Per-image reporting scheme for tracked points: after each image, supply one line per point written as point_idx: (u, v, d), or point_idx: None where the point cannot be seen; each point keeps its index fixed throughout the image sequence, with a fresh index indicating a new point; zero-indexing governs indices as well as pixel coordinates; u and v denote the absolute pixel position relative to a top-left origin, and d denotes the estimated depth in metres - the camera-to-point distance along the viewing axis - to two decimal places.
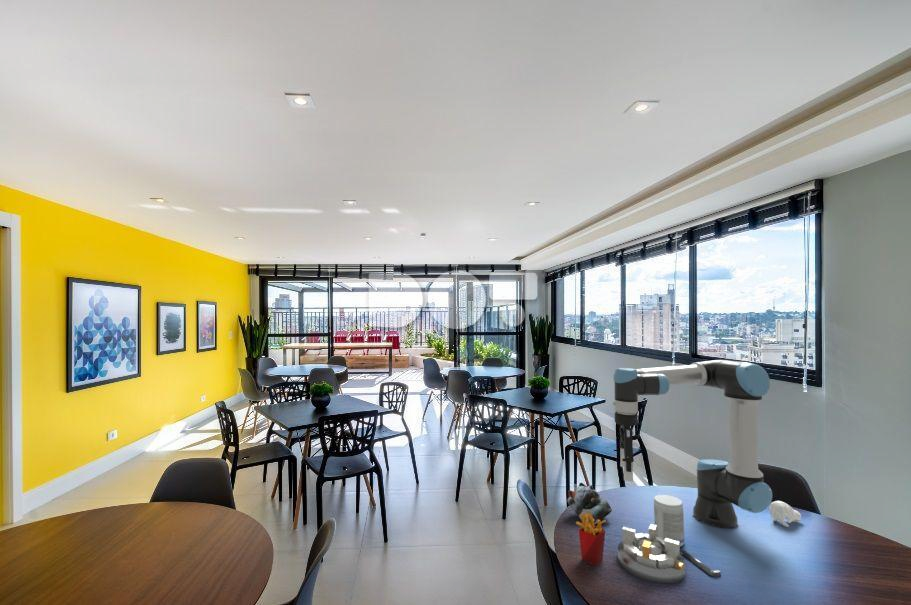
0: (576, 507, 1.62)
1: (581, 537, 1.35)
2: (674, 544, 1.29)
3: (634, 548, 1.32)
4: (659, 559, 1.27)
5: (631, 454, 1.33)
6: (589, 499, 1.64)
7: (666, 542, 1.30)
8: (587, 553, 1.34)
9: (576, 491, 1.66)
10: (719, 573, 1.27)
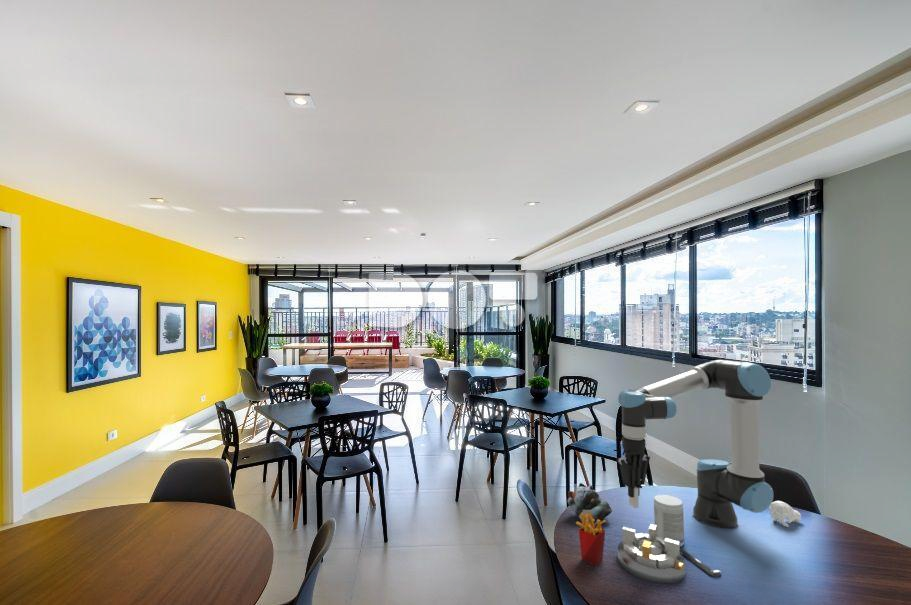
0: (576, 507, 1.62)
1: (581, 537, 1.35)
2: (674, 544, 1.29)
3: (634, 548, 1.32)
4: (659, 559, 1.27)
5: (626, 481, 1.39)
6: (589, 499, 1.63)
7: (666, 542, 1.30)
8: (587, 553, 1.34)
9: (576, 492, 1.65)
10: (719, 573, 1.27)
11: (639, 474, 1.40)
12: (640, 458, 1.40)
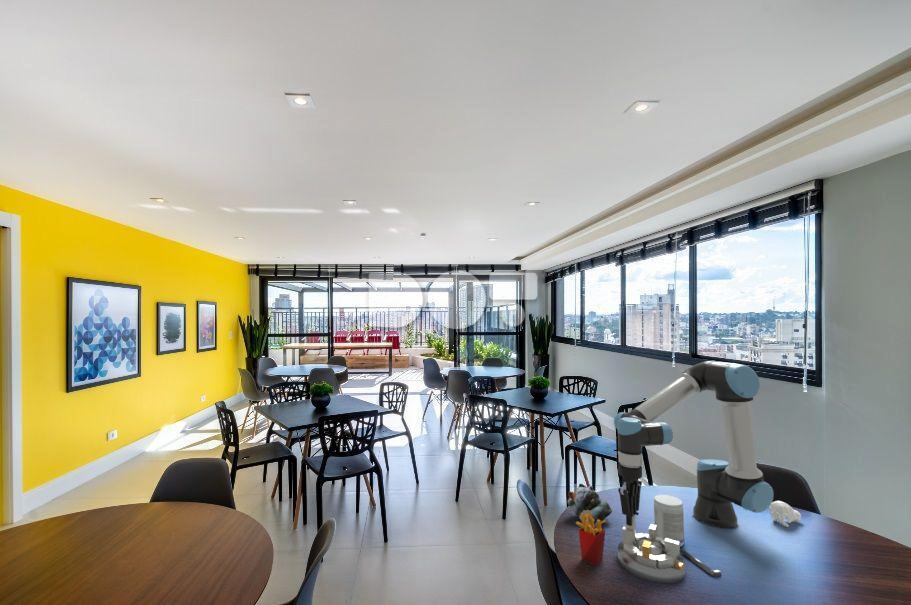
0: (576, 508, 1.61)
1: (581, 537, 1.35)
2: (674, 544, 1.29)
3: (634, 548, 1.32)
4: (659, 559, 1.27)
5: (627, 510, 1.36)
6: (590, 500, 1.63)
7: (666, 542, 1.30)
8: (587, 553, 1.34)
9: (576, 492, 1.65)
10: (720, 573, 1.27)
11: (635, 501, 1.39)
12: (637, 485, 1.39)
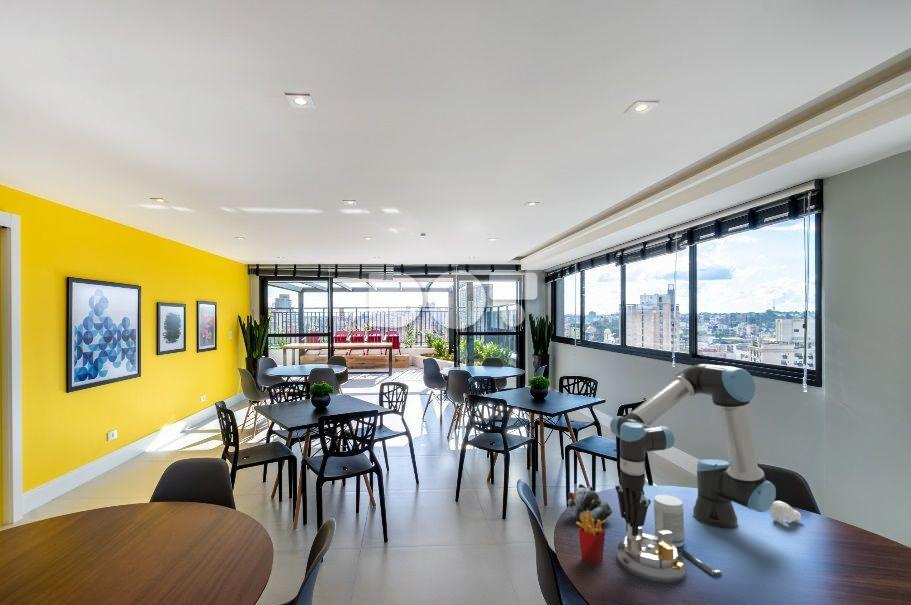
0: (577, 509, 1.61)
1: (581, 537, 1.35)
2: (669, 534, 1.35)
3: (650, 555, 1.28)
4: (674, 554, 1.29)
5: (643, 520, 1.30)
6: (590, 501, 1.62)
7: (664, 535, 1.35)
8: (587, 553, 1.34)
9: (576, 493, 1.64)
10: (720, 573, 1.28)
11: None
12: None
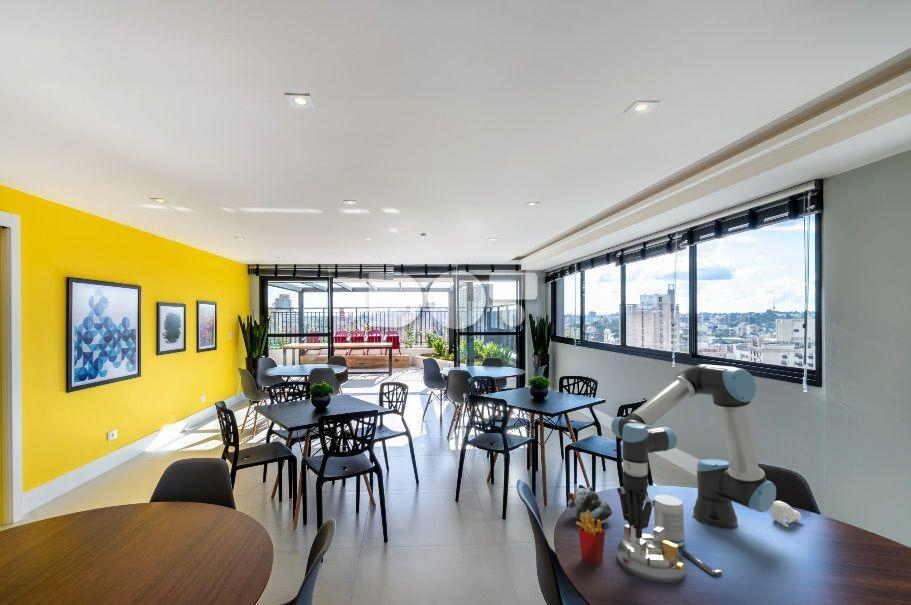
0: (577, 510, 1.60)
1: (581, 537, 1.35)
2: (663, 530, 1.38)
3: (658, 556, 1.28)
4: None
5: (647, 522, 1.28)
6: (590, 501, 1.61)
7: (659, 532, 1.36)
8: (587, 553, 1.34)
9: (576, 493, 1.64)
10: (720, 572, 1.28)
11: None
12: None
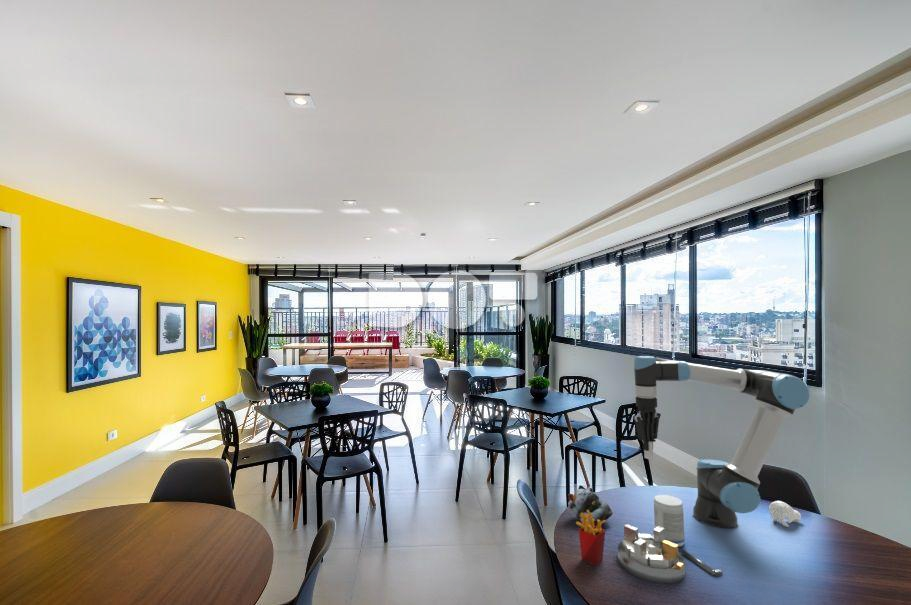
0: (577, 511, 1.59)
1: (581, 537, 1.35)
2: (663, 530, 1.38)
3: (658, 556, 1.28)
4: None
5: (642, 436, 1.53)
6: (590, 502, 1.61)
7: (659, 532, 1.36)
8: (587, 553, 1.34)
9: (576, 494, 1.63)
10: (721, 572, 1.28)
11: (652, 429, 1.55)
12: (653, 415, 1.55)
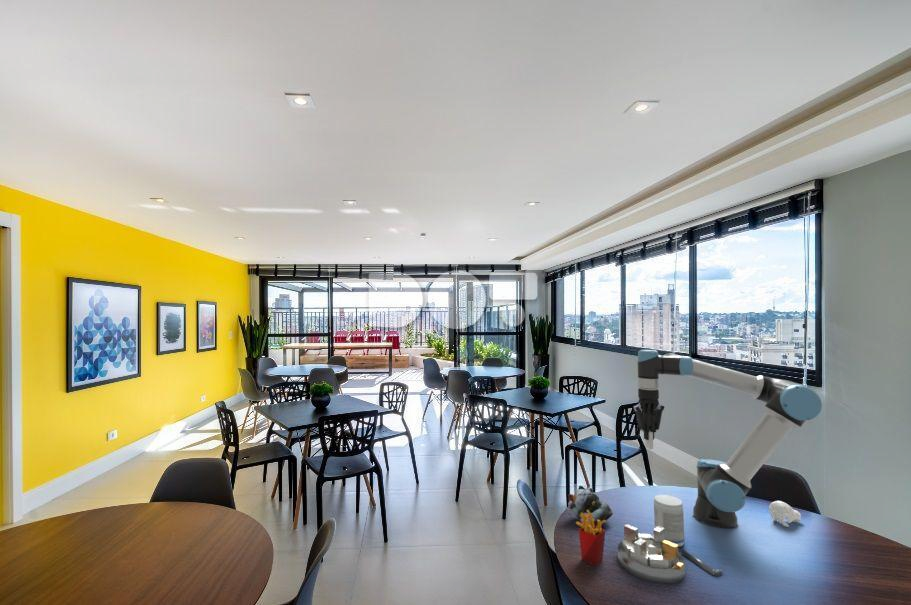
0: (577, 511, 1.59)
1: (581, 537, 1.35)
2: (663, 530, 1.38)
3: (658, 556, 1.28)
4: None
5: (641, 425, 1.61)
6: (590, 502, 1.61)
7: (659, 532, 1.36)
8: (587, 553, 1.34)
9: (576, 495, 1.63)
10: (721, 572, 1.28)
11: (653, 420, 1.61)
12: (654, 406, 1.61)
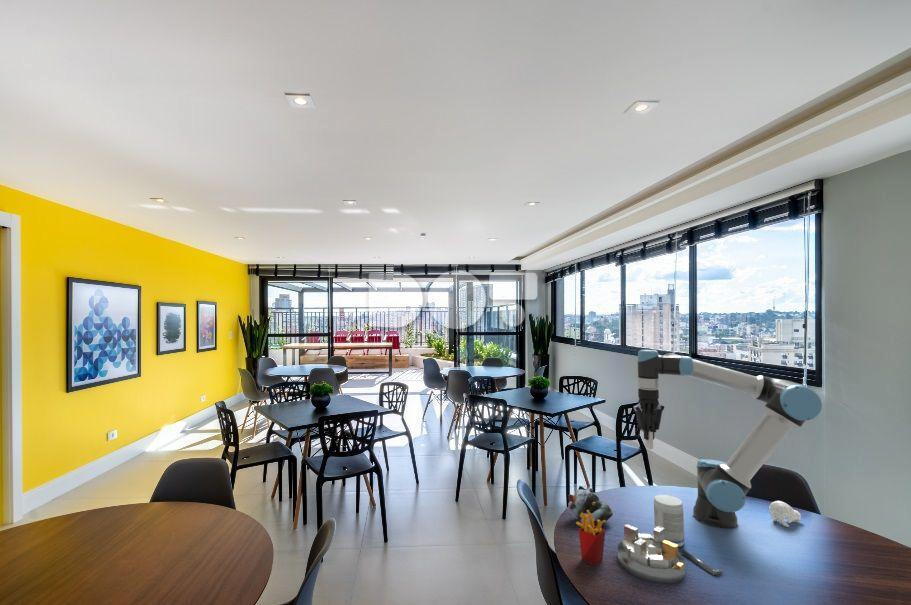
0: (577, 511, 1.59)
1: (581, 537, 1.35)
2: (663, 530, 1.38)
3: (658, 556, 1.28)
4: None
5: (641, 425, 1.61)
6: (590, 503, 1.60)
7: (659, 532, 1.36)
8: (587, 553, 1.34)
9: (577, 495, 1.62)
10: (721, 572, 1.28)
11: (653, 420, 1.61)
12: (654, 406, 1.61)
